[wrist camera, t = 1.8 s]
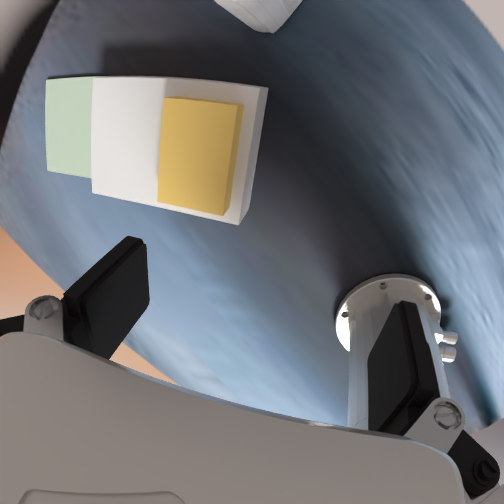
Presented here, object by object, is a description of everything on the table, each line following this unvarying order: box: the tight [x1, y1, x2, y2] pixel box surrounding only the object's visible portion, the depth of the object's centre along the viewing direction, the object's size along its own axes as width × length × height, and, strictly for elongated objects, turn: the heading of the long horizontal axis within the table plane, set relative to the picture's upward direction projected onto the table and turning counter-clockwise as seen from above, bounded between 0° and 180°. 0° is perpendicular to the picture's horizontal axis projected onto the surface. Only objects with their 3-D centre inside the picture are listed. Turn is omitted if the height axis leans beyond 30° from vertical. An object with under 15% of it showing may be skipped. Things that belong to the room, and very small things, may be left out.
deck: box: [91, 76, 269, 225], centre depth 28 cm, size 16×12×4 cm
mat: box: [45, 76, 109, 178], centre depth 31 cm, size 11×12×1 cm
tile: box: [157, 96, 244, 216], centre depth 25 cm, size 6×9×2 cm, turn 172°
